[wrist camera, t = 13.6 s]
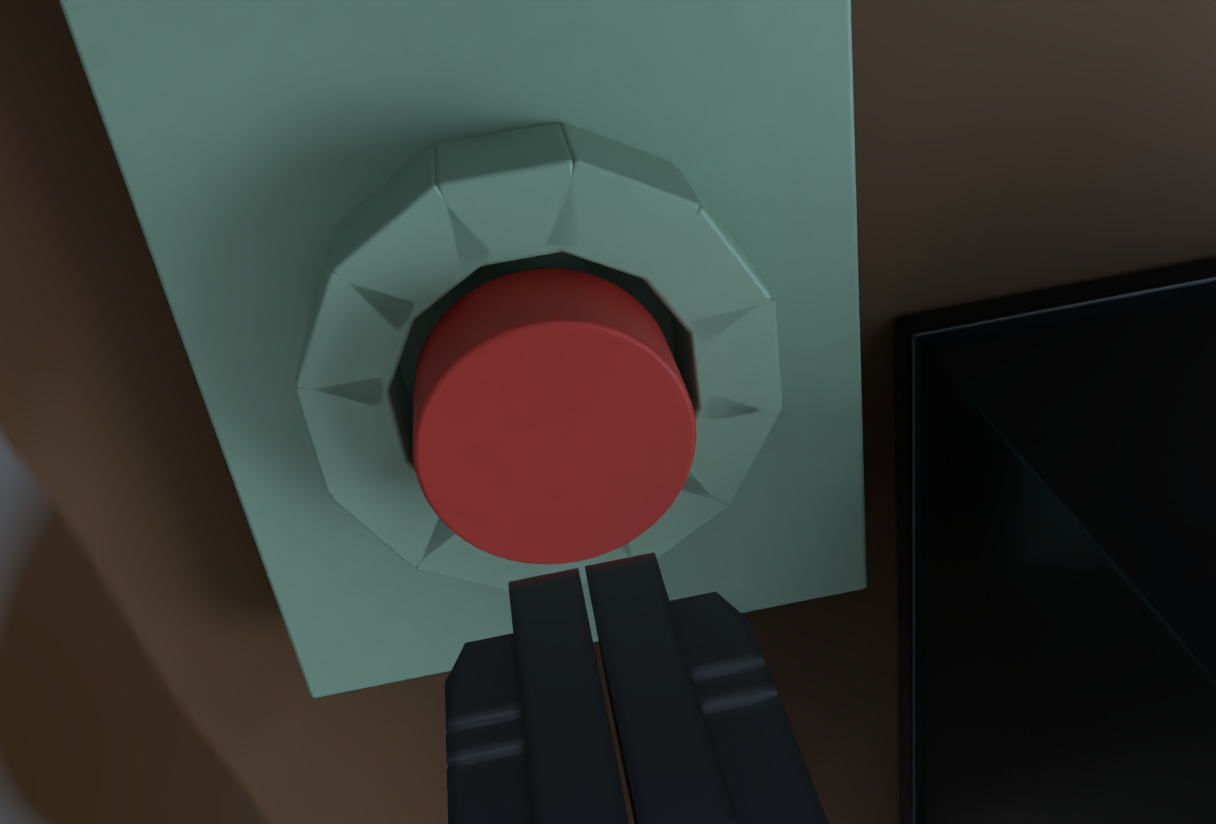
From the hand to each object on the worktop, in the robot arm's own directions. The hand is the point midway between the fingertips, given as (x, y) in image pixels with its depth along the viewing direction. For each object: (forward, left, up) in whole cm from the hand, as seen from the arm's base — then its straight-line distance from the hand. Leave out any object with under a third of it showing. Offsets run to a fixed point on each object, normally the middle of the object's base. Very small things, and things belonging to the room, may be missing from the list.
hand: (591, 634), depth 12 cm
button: (0, 0, -5) cm, 5 cm away
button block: (0, 0, -9) cm, 9 cm away
